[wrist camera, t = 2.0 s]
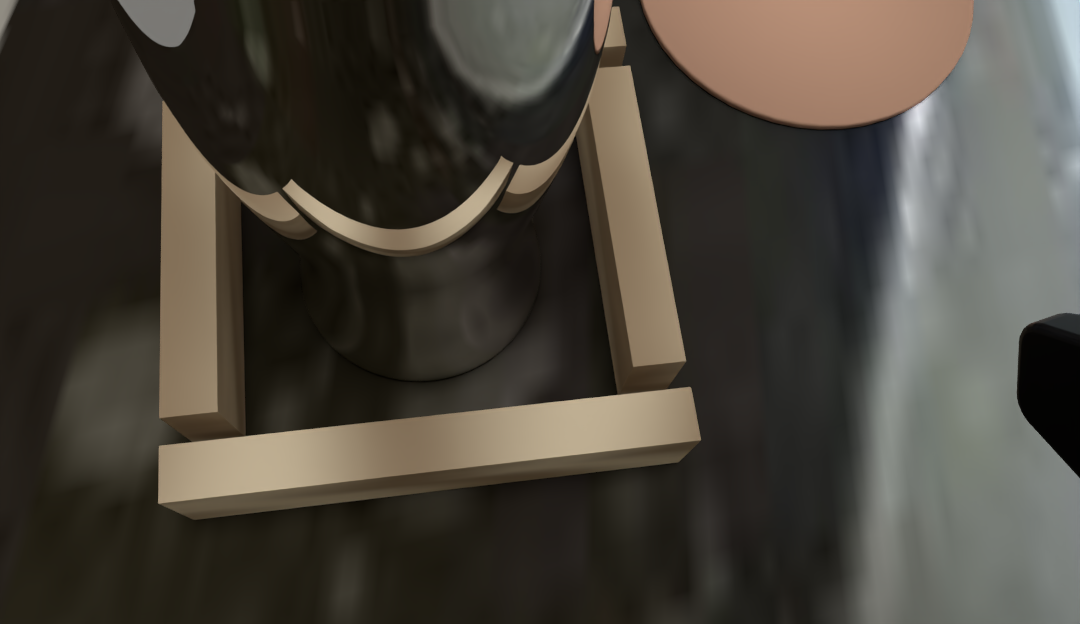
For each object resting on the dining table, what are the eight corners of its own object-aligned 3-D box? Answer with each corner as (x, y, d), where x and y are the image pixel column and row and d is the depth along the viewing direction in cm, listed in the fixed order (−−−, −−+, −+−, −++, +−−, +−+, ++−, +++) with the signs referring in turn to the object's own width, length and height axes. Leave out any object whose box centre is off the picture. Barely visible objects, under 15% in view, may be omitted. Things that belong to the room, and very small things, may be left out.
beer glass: (576, 175, 25) (696, -442, 11) (532, 423, 23) (612, 43, 8) (322, 128, 25) (115, -543, 11) (251, 372, 23) (-135, -90, 8)
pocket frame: (606, 64, 26) (619, 6, 24) (678, 462, 22) (700, 439, 20) (193, 95, 25) (163, 38, 23) (194, 520, 21) (158, 503, 19)
